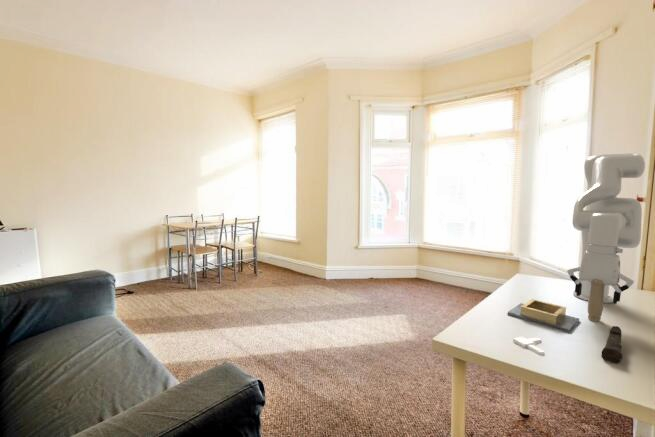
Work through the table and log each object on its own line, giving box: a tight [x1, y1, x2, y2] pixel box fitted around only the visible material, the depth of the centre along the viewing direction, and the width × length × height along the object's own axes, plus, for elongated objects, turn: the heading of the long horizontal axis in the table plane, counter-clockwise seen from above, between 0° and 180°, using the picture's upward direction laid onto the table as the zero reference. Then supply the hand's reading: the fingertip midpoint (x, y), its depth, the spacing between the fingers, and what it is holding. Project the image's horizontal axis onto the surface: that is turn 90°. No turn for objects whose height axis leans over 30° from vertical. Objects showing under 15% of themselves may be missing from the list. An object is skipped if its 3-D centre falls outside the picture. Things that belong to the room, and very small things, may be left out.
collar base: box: [507, 298, 580, 333], centre depth 111 cm, size 13×18×4 cm
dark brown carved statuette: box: [600, 325, 623, 364], centre depth 90 cm, size 19×4×5 cm, turn 133°
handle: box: [587, 279, 605, 323], centre depth 109 cm, size 5×6×15 cm
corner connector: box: [512, 336, 545, 355], centre depth 92 cm, size 8×8×2 cm
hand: (596, 298), depth 109 cm, fingers open, 9 cm apart
